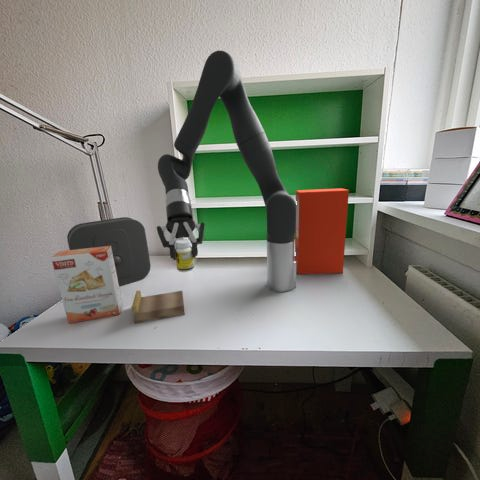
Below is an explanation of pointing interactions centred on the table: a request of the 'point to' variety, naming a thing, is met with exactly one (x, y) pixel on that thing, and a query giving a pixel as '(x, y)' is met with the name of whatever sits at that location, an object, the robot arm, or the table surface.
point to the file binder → (320, 230)
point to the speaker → (116, 245)
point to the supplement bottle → (184, 255)
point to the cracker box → (88, 283)
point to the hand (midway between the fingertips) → (184, 257)
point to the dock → (157, 306)
